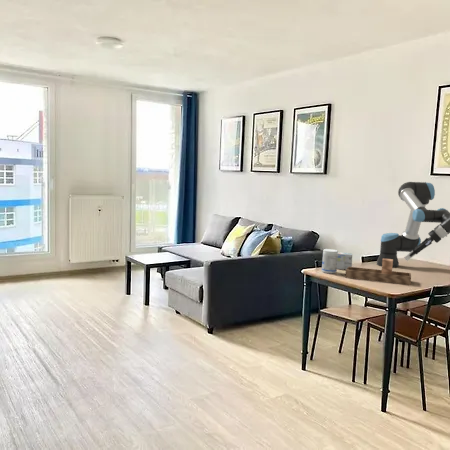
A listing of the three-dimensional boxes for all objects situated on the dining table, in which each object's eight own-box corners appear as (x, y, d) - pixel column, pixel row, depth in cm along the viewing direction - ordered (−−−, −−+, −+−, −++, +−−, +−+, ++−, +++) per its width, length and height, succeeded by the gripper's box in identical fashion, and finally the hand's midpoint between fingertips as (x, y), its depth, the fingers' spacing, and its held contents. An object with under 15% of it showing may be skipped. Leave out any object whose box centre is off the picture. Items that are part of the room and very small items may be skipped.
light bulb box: (350, 268, 330) (351, 252, 329) (351, 270, 323) (352, 254, 322) (334, 267, 331) (335, 252, 330) (335, 269, 324) (336, 253, 323)
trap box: (410, 280, 297) (410, 273, 296) (410, 284, 285) (411, 276, 285) (347, 274, 310) (348, 266, 309) (345, 277, 298) (346, 269, 298)
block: (391, 275, 297) (393, 259, 296) (391, 276, 292) (392, 260, 291) (381, 274, 299) (382, 258, 298) (381, 275, 294) (382, 259, 293)
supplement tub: (319, 270, 317) (321, 248, 316) (333, 270, 318) (335, 249, 317) (324, 273, 308) (325, 251, 306) (338, 274, 309) (340, 251, 307)
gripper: (443, 240, 276) (410, 265, 283) (441, 237, 288) (409, 262, 296) (433, 230, 277) (401, 255, 285) (432, 228, 290) (401, 252, 297)
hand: (405, 259), depth 290 cm, fingers closed
